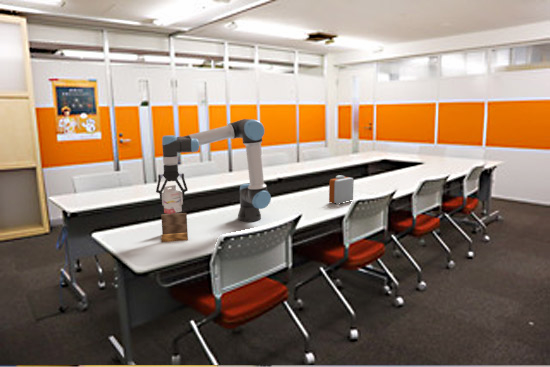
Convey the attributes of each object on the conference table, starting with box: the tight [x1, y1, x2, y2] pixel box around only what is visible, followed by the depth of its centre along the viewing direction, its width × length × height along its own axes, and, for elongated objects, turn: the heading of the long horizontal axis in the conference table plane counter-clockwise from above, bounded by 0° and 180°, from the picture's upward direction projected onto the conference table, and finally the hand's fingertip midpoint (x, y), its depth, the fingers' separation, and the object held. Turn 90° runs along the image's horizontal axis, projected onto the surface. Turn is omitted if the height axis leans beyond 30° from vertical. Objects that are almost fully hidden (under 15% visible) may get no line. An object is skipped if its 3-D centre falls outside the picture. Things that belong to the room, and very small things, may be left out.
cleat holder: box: [160, 212, 189, 243], centre depth 219 cm, size 14×13×12 cm
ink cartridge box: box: [162, 184, 183, 214], centre depth 216 cm, size 9×5×15 cm, turn 141°
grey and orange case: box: [328, 174, 355, 205], centre depth 296 cm, size 18×9×21 cm, turn 130°
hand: (172, 204), depth 217 cm, fingers closed on ink cartridge box, 9 cm apart
